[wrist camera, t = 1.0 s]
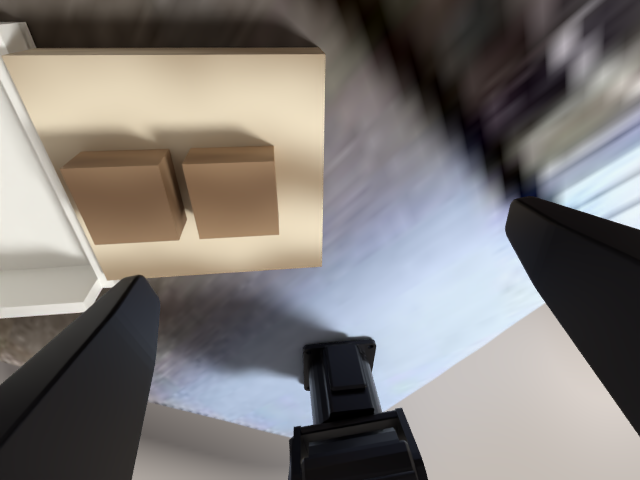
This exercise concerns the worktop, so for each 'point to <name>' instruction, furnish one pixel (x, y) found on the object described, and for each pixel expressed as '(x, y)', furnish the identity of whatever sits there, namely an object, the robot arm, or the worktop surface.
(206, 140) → the birch plate
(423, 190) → the worktop surface
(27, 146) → the box
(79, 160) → the walnut tile
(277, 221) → the walnut tile
